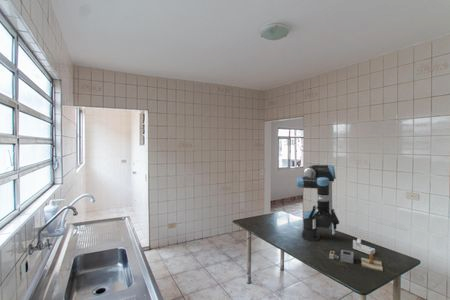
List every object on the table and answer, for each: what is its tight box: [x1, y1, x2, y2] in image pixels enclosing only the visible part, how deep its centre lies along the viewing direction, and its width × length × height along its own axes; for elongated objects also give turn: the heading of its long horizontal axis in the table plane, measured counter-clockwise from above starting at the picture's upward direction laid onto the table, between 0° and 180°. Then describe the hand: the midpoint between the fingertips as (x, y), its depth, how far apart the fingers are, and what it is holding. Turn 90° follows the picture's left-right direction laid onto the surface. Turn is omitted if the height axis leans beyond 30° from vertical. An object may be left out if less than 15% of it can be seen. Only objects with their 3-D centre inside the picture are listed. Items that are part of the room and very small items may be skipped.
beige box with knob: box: [328, 250, 336, 260], centre depth 176 cm, size 6×3×4 cm, turn 151°
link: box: [340, 249, 355, 264], centre depth 171 cm, size 8×8×5 cm
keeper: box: [360, 254, 384, 272], centre depth 163 cm, size 12×12×7 cm
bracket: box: [352, 237, 376, 255], centre depth 183 cm, size 13×7×8 cm, turn 31°
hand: (323, 231), depth 162 cm, fingers open, 13 cm apart
